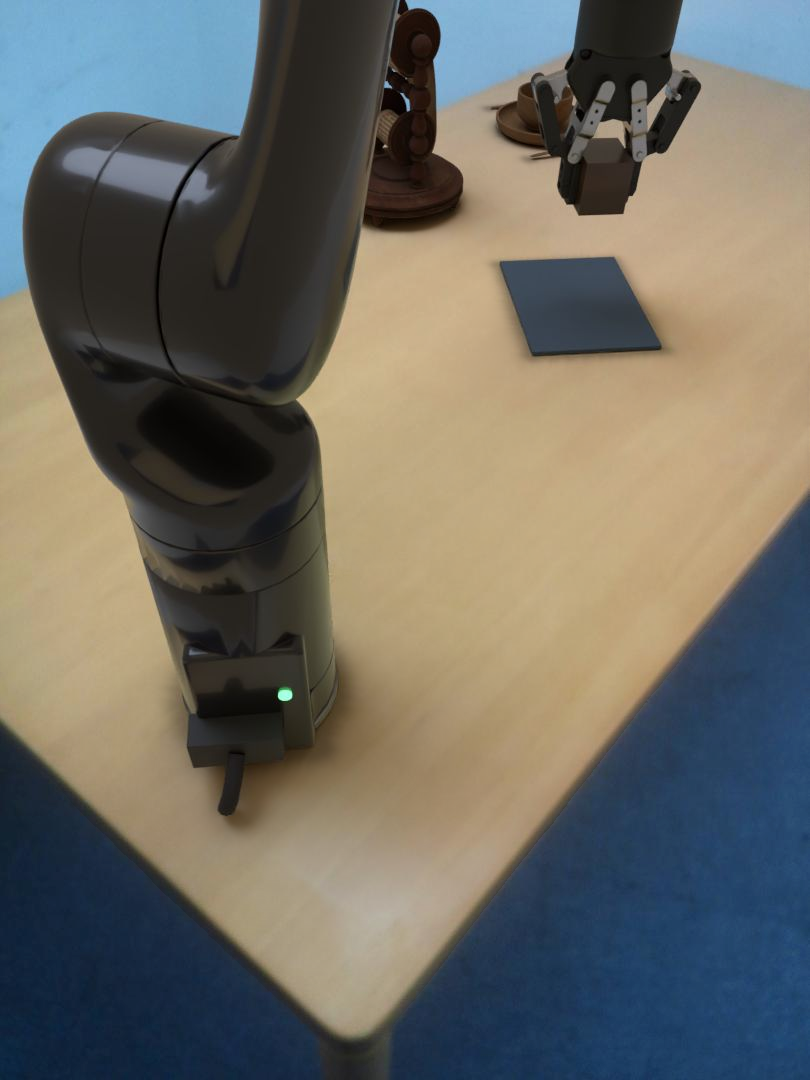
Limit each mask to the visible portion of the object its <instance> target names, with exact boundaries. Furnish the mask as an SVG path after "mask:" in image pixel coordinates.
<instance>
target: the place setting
mask: <svg viewBox="0 0 810 1080" xmlns="http://www.w3.org/2000/svg"><path fill="white" fill-rule="evenodd" d="M516 97H517V99H516V100H513V101H510V102H507V103H505V104H501V105H493V106H490V107H489V108H490V109H497V110H496V111H495V112H496V113H495V122H496V125H497V127H498V129H499V130H500V131H501V132H502V133H503V134H504V135H506V136H507V137H508V138H510V139H512V140H514V141H517V142H519V143H523V144H526V145H531V146H539V147H545V146H544V144H543V142H542V139H541V133H540V128H539V123H538V118H537V113H536V107H535V102H534V97H533V92H532V87H531V81H528V82H526V83H523V84H521V85H520V86H519V87H518V89H517V96H516ZM574 97H575V96H574V94H573V92H572V90H571V89H570V87H569V85H567V86H566V87H565V88H564V89H563V91H562V99H561V101H560V102H559V103H558V104H556V105H555V109H556V114H557V120H558V126H559V131H560V135H561V136H563V137H564V136H565V134H566V131H567V129H568V126H569V123H570V116H571V113H572V111H573V108H574V106H575V104H574V105H573V103H574V102H573V101H574ZM547 155H549V153H548V151H547V150H546V151H542V152H538V153H534V154H531V155H529V157H530V158H536V157H537V158H538V157H541V156H547Z"/></svg>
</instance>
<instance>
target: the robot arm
mask: <svg viewBox="0 0 810 1080" xmlns="http://www.w3.org/2000/svg"><path fill="white" fill-rule="evenodd" d="M399 1H400V0H259V13H258V15H259V16H258V30H257V41H256V48H255V49H256V50H255V58H254V59H255V60H254V66H253V73H252V79H251V80H252V81H251V87H250V90H249V91H250V92H249V97H248V101H247V106H246V111H245V116H244V120H243V123H242V127H241V130H240V133H239V134H235V133H231V132H230V133H229V132H225V131H219V130H215V129H210V128H206V127H201V126H195V125H192V124H186V123H181V122H176V121H173V120H168V119H167V120H166V119H162V118H157V117H152V116H146V115H144V114H143V115H142V114H139V113H138V114H137V113H132V112H125V111H96V112H92V113H89V114H88V113H87V114H85V115H82V116H79V117H77V118H75V119H73V120H70V121H69V122H68V123H66V124H64V125H63V126H62V127H61V128H60V129H59V130H57V132H55V133H54V135H52V137H51V138H50V139H49V140H48V142H47V143H46V144H45V145H44V147H43V148H42V150H41V151H40V153H39V154H38V156H37V159H36V161H35V163H34V164H33V168H32V171H31V174H30V176H29V180H28V184H27V188H26V193H25V195H24V196H25V197H24V201H23V210H22V224H21V225H22V230H21V231H22V256H23V263H24V268H25V274H26V280H27V284H28V290H29V294H30V298H31V301H32V306H33V309H34V312H35V315H36V318H37V322H38V326H39V327H40V330H41V333H42V335H43V339H44V341H45V344H46V347H47V349H48V352H49V355H50V357H51V359H52V362H53V365H54V367H55V370H56V372H57V375H58V377H59V380H60V382H61V384H62V387H63V389H64V392H65V395H66V397H67V399H68V402H69V404H70V407H71V409H72V413H73V414H74V417H75V420H76V422H77V425H78V427H79V430H80V432H81V436H82V438H83V440H84V442H85V445H86V447H87V449H88V452H89V454H90V456H91V458H92V459H93V461H94V463H95V464H96V466H97V468H98V469H99V470H100V472H101V473H102V474H103V475H104V477H106V479H107V480H108V481H109V482H110V483H111V484H112V485H113V486H114V487H115V488H116V489H117V490H118V491H119V492H120V493H121V494H122V497H123V499H124V503H125V506H126V509H127V512H128V515H129V519H130V521H131V525H132V529H133V532H134V535H135V538H136V542H137V545H138V550H139V553H140V556H141V559H142V563H143V566H144V570H145V572H146V575H147V580H148V583H149V586H150V589H151V592H152V593H151V594H152V596H153V599H154V603H155V606H156V610H157V613H158V616H159V619H160V623H161V627H162V629H163V630H162V631H163V633H164V637H165V640H166V643H167V646H168V650H169V653H170V657H171V659H172V663H173V666H174V670H175V672H176V676H177V679H178V683H179V685H180V689H181V696H182V700H183V701H182V702H183V705H184V708H185V711H186V714H187V717H188V722H187V733H186V735H187V738H186V749H187V753H188V756H189V758H190V762H191V766H192V768H193V769H201V768H213V767H224V766H225V773H224V779H223V784H222V785H223V786H222V791H221V796H220V799H219V801H218V804H217V812H218V813H219V815H220V816H223V817H230V816H232V815H233V814H234V813H235V812H236V809H237V807H238V804H239V802H240V801H239V800H240V796H241V792H242V791H241V790H242V785H243V778H244V777H243V776H244V770H245V769H244V768H245V765H246V764H257V763H268V762H269V763H270V762H279V761H281V762H282V761H285V759H286V755H285V753H286V751H285V750H289V749H301V748H311V747H313V746H314V745H315V742H316V739H315V735H316V734H315V733H316V729H317V728H319V726H320V725H321V724H322V723H323V721H324V720H325V719H326V718H327V716H328V714H329V713H330V712H331V710H332V708H333V705H334V704H335V701H336V698H337V693H338V686H339V674H338V665H337V660H336V655H335V653H336V652H335V640H334V628H333V627H334V626H333V613H332V600H331V599H332V598H331V585H330V584H331V583H330V569H329V555H328V539H327V527H326V526H327V524H326V508H325V507H326V506H325V490H324V476H323V462H322V448H321V443H320V441H321V440H320V438H319V434H318V433H319V432H318V430H317V427H316V425H315V423H314V420H313V419H312V417H311V416H310V414H309V412H308V410H307V409H306V408H305V407H304V405H302V404H301V402H300V401H298V400H297V399H299V398H300V397H301V396H302V395H304V394H305V393H306V392H307V391H308V390H309V389H310V388H311V386H312V385H313V384H314V382H315V381H316V379H317V378H318V376H319V374H320V373H321V371H322V369H323V367H324V366H325V364H326V362H327V360H328V358H329V355H330V353H331V351H332V348H333V345H334V343H335V340H336V338H337V335H338V333H339V330H340V328H341V323H342V320H343V317H344V312H345V310H346V306H347V303H348V302H347V301H348V297H349V294H350V290H351V284H352V281H353V277H354V276H353V275H354V272H355V267H356V262H357V256H358V250H359V245H360V238H361V233H362V229H363V222H364V218H365V217H364V216H365V214H364V211H365V205H366V198H367V192H368V186H369V179H370V173H371V167H372V160H373V154H374V148H375V141H376V135H377V129H378V123H379V117H380V110H381V104H382V98H383V92H384V88H385V87H386V86H385V85H386V81H385V80H386V74H387V68H388V62H389V56H390V51H391V45H392V39H393V33H394V27H395V22H396V17H397V12H398V6H399ZM683 2H684V0H579V7H578V14H577V21H576V26H575V34H574V42H573V49H572V51H571V54H570V56H569V58H568V59H567V60H566V62H565V65H564V68H563V69H560V70H557V71H554V72H552V73H550V74H544V73H543V72H540V71H539V72H535V73H533V75H532V76H531V78H530V82H531V87H532V92H533V97H534V102H535V107H536V113H537V118H538V123H539V128H540V133H541V139H542V142H543V144H544V146H543V147H544V148H545V150H546V152H547V151H548V153H549V154H548V155H549V156H550V157H553V158H555V157H558V158H560V161H559V169H558V175H557V182H556V187H557V191H558V193H559V195H560V197H561V199H563V201H564V203H565V205H566V206H573V205H575V203H576V198H577V192H578V186H579V180H580V174H581V168H582V163H581V161H580V160H581V158H582V156H583V154H584V151H585V149H586V147H587V144H588V142H589V140H590V139H591V138H594V136H595V134H596V132H597V130H598V128H599V125H600V123H606V122H608V121H611V120H616V121H618V122H621V123H622V126H623V136H624V137H623V139H624V148H625V149H626V151H627V152H628V154H629V155H630V157H631V158H632V160H633V161H634V167H633V172H632V176H631V181H630V186H629V191H628V195H627V200H626V204H627V203H628V201H629V197H634V195H635V193H636V192H637V189H638V183H639V178H640V174H641V170H642V165H643V162H644V161H645V159H646V158H647V157H649V156H650V155H654V154H655V153H656V154H658V155H663V154H665V153H666V152H668V150H669V149H670V147H671V144H672V143H673V141H674V140H675V137H676V136H677V134H678V132H679V130H680V128H681V126H682V125H683V122H684V120H685V119H686V118H687V116H688V114H689V112H690V110H691V108H692V106H693V104H694V103H695V102H696V99H697V98H698V96H699V94H700V92H701V90H702V84H701V82H700V81H699V80H698V78H697V77H696V76H695V75H694V74H693V73H692V72H691V71H690V70H689V69H683V70H678V69H675V68H673V67H674V66H673V63H672V59H671V52H672V49H673V46H674V44H675V40H676V34H677V31H678V30H677V29H678V27H679V20H680V16H681V11H682V7H683V4H684V3H683ZM566 86H568V87H570V89H571V90H572V92H573V94H574V96H573V97H574V99H575V100H576V101H575V103H574V108H573V111H572V113H571V116H570V123H569V126H568V129H567V131H566V134H565V136H564V137H563V136H561V135H560V131H559V126H558V120H557V114H556V109H555V105H556V104H558V103H559V102H560V101H561V99H562V91H563V89H564V88H565V87H566ZM664 87H665V89H664V95H665V96H666V97H665V99H664V100H663V101H662V102H663V103H662V104H661V106H660V108H659V110H658V111H657V114H656V115H655V117H654V120H653V121H652V123H651V124H650V127H649V129H648V106H649V105H650V103H651V102H652V101H653V100H654V99H655V98H656V97H657V95H658V94H659V93H660V92H661V91H662V89H663V88H664Z"/></svg>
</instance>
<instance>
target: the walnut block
mask: <svg viewBox="0 0 810 1080" xmlns="http://www.w3.org/2000/svg"><path fill="white" fill-rule="evenodd" d="M580 161H581V163H582V168H581V174H580V180H579V186H578V192H577V198H576V203H575V205H572V206H573V208H574V210H575V212H576V214H577V215H578V217H581V216H582V217H583V216H584V217H585V216H587V217H588V216H613V215H615V216H616V215H624V214H625V209H626V204H627V203H626V200H627V195H628V191H629V186H630V181H631V176H632V172H633V167H634V161H633V160H632V158H631V157H630V155H629V154H628V152H627V151H626V149H625V145H623V143H622V141H621V140H620V138H619V137H592V138H591V139H590V140H589V142H588V144H587V147H586V149H585V151H584V154H583V156H582V158H581V160H580Z"/></svg>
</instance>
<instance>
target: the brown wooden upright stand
mask: <svg viewBox="0 0 810 1080" xmlns="http://www.w3.org/2000/svg"><path fill="white" fill-rule="evenodd" d="M441 33H442V32H441V27H440V24H439V21H438V19H437V18H436V16H435V15H434V14H433V13H432V12H431V11H429V10H428V9H427V8H426V9H425V8H421V7H415V8H409V5H408V3H407V1H406V0H400V1H399V6H398V12H397V17H396V22H395V27H394V33H393V39H392V45H391V51H390V56H389V62H388V68H387V74H386V80H385V82H387V84H388V86H390V87H384V92H383V98H382V104H381V110H380V117H379V123H378V129H377V135H376V141H375V148H374V154H373V160H372V167H371V173H370V179H369V186H368V192H367V198H366V205H365V211H364V215H369V216H371V218H372V222H373V225H374V226H375V227H378V228H379V227H381V224H382V222H383V218H389V219H409V218H410V219H411V218H420V217H426V216H429V215H434V214H437V213H440V212H442V211H445V210H446V209H449V208H450V209H452V210H455V209H457V207H458V205H459V203H460V198H461V196H462V195H463V192H464V176H463V173H462V171H461V170H460V168H458V167H457V166H456V165H455V164H453V163H452V162H451V161H449V160H447V159H446V158H445V157H442V156H440V155H439V154H436V153H435V152H434V149H435V146H436V143H437V133H438V132H437V131H438V120H437V116H438V115H437V113H438V112H437V85H436V72H435V64H434V60H435V58H436V56H437V54H438V52H439V49H440V46H441V40H442V39H441V38H442V34H441ZM405 99H407V100H408V103H409V110H408V107H407V102H406V100H405ZM384 146H385V147H384Z"/></svg>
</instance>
